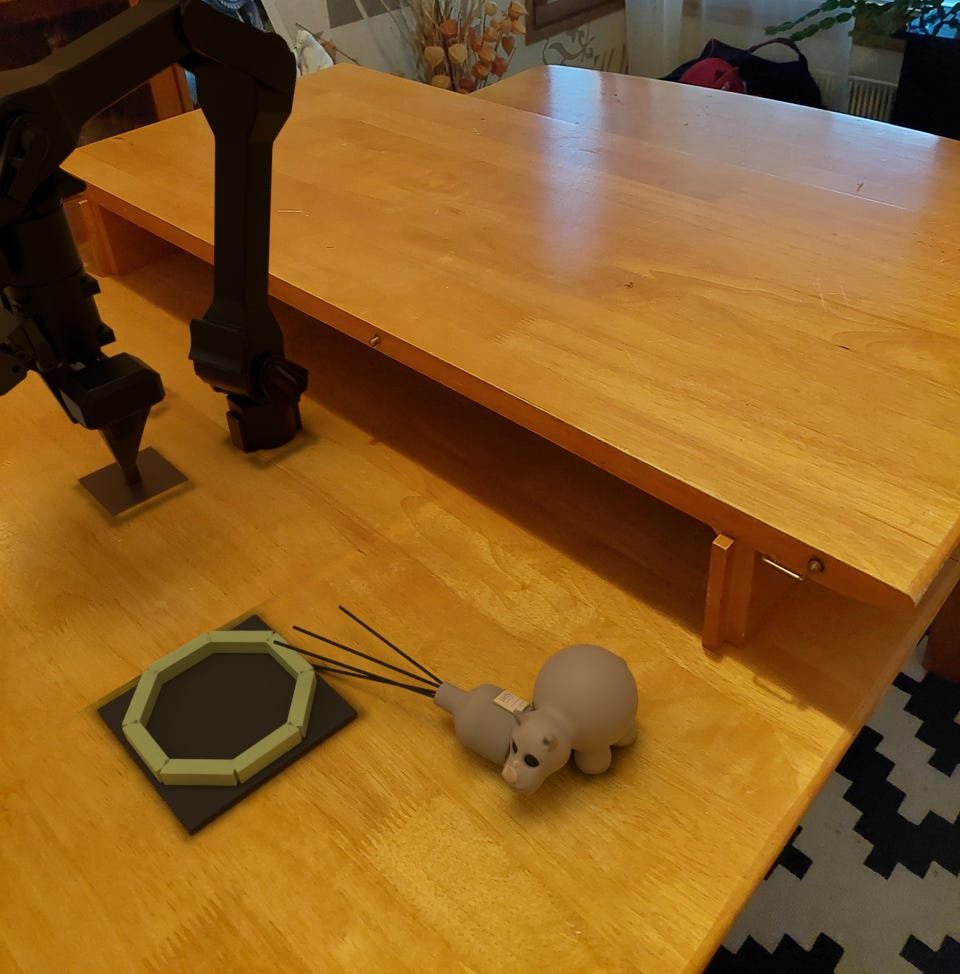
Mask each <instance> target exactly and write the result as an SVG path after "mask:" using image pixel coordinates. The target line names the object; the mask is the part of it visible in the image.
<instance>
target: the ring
mask: <svg viewBox="0 0 960 974" xmlns="http://www.w3.org/2000/svg"><path fill="white" fill-rule="evenodd" d="M273 631H274V630H273ZM273 631H228V630H210V631H209V633H207V632H206V631H204V632H202V633H201V634H199V635H198V636H196V637H195V638H193V639H191V640H189V641H187V642H186V643H184V644H182V645H181V646H179V647H177V648H176V649H174V650H172V651H171V652H169V653H167V654H166V655H164V656H162V657H161V658H159V659H156V660H155V661H154V662H152V663H150V664H148V665H147V669H144V670H143V671H142V674H141V676H140V678H139V681H138V684H137V685H138V686H137V685H136V686H137V688H136V691H135V693H134V696H133V698H132V701H131V703H130V706H129V708H128V711H127V713H126V715H125V718H124V720H123V723H122V726H123V728H122V729H123V731H124V734H125V736H126V738H127V740H128V741H129V743H130V744H131V745H132V747H133V748H134V749H135V751H136V752H137V753H138V755H139V756H140V757H141V758H142V760H143V761H144V762H145V764H146V765H147V766H148V768H149V769H150V770H151V771H152V773H153V774H154V775H155V777H156V778H157V779H158V781H159V782H160V783H162V782H164V784H165V785H213V786H237V783H238V780H239V781H240V783H244V782H245V781H247V780H248V779H249V778H251V777H252V776H254V775H255V774H257V773H258V772H259V771H261V770H262V769H264V768H265V767H266V766H268V765H269V764H271V763H272V762H274V761H275V760H276V759H278V758H279V757H281V756H282V755H283V754H285V753H286V752H288V751H289V750H291V749H292V748H293V747H295V746H296V745H298V744H299V743H300V742H302V739H301V737H305V735H306V731H307V726H308V722H309V717H310V712H311V708H312V703H313V699H314V694H315V689H316V685H317V680H316V676H315V672H316V671H315V668H313V667H312V666H311V665H310V664H311V663H310V662H308V661H307V660H306V659H305V658H304V657H303V656H302V655H301V653H300V652H297V651H294V650H291V649H288V648H285V647H282V646H279V645H276V644H273V642H274V640H276V641H279V642H282V643H285V644H288V645H290V644H289V643H288V642H287V641H286V640H285V638H283V637H282V636H281V635H280V634H279V633H278V632H275V634H273ZM213 653H269V654H270V655H271V656H272V657H273V658H274V659H275V660H276V661H277V662H278V663H279V664H280V665H281V666H282V667H283V668H284V669H285V670H286V671H287V672H289V673H290V674H291V675H292V676H293V677H294V678H295V679H296V680H297V682H296V686H295V691H294V695H293V699H292V703H291V707H290V712H289V716H288V720H287V723H286V724H284V725H283V726H281V727H280V728H278V729H277V730H275V731H274V732H272V733H271V734H270V735H268V736H267V737H265V738H264V739H262V740H261V741H259V742H258V743H256V744H255V745H254V746H252V747H251V748H249V749H248V750H246V751H245V752H243V753H242V754H240V755H239V756H238V757H236V758H235V759H233V760H215V759H169V758H168V757H167V755H166V754H165V753H164V752H163V750H162V749H161V748H160V747H159V745H158V744H157V743H156V742H155V740H154V739H153V738H152V737H151V735H150V734H149V733H148V732H147V730H146V726H147V723H148V721H149V718H150V715H151V713H152V710H153V708H154V705H155V702H156V700H157V697H158V694H159V692H160V689H161V687H162V684H164V683H166V682H167V681H169V680H170V679H172V678H174V677H175V676H177V675H179V674H180V673H182V672H184V671H185V670H187V669H189V668H190V667H192V666H193V665H195V664H197V663H198V662H200V661H202V660H203V659H205V658H207V657H208V656H210V655H211V654H213ZM309 663H310V664H309Z"/></svg>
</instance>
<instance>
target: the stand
mask: <svg viewBox="0 0 960 974" xmlns="http://www.w3.org/2000/svg"><path fill="white" fill-rule="evenodd" d="M76 480H77V482H78V483H79V484H81V486H82V487H83V488H84V489H85V490H86V491H87V492H88V493H89V494H90V495H91V496H92V498H94V499H95V500H96V501H97V502H98V503H99V504H100V505H101V506H102V507H103V508H104V509H105V510H106V511H107V512H108V513H109V514H110V516H112V517H116V516H118V515H120V514H122V513H125V512H126V511H128V510H130V509H132V508H134V507H136V506H138V505H140V504H142V503H144V502H146V501H148V500H150V499H152V498H154V497H156V496H158V495H161V494H162V493H165V492H166V491H168V490H170V489H173V488H174V487H177V486H179V485H181V484H183V483H185V482H187V481H189V478H188V477H187V476H186V475H184V473H182V472H181V471H180V470H179V469H178V468H177V467H175V466H174V465H173V463H171V462H170V461H168V460H167V458H166V457H164V456H163V455H161V453H160V452H159V451H158V450H156V449H155V448H153V446H151V445H149V446H147V447H145V448H143V449H140V450H139V451H138V455H137V459H136V463H135V465H134V466H132V467H130V468H128V469H126V470H122V469H121V468H120V467H119V465H118V463H117V462H116V461H114V462H112V463H110V464H108V465H106V466H103V467H101V468H99V469H97V470H95V471H93V472H90V473H88V474H86V475H84V476H82V477H79V478H78V479H76Z"/></svg>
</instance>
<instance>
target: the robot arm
mask: <svg viewBox="0 0 960 974" xmlns="http://www.w3.org/2000/svg"><path fill="white" fill-rule="evenodd" d="M297 63H298V62H297V58H296V55H295V52H294V51H292V50H291V48H290V46H289V44H288V42H287V40H286V39H284V37H283V36H282V35H281V34H279V33H277V32H274V31H268V30H262V29H260V28H258V27H256V26H253V25H251V24H248V23H246V22H245V21H242V20H240V19H238V18H235V17H233V16H231V15H229V14H227V13H225V12H222V11H220V10H219V9H217V8H215V7H214V6H213V5H211V4H210V3H209V2H207V1H205V0H138V1H137V2H136V4H135V5H133V6H131V7H129V8H128V9H126V10H124V11H122V12H120V13H119V14H117V15H116V16H114V17H112V18H111V19H108V20H107V21H106V22H104V23H102V24H100V25H98V26H97V27H95V28H93V29H92V30H90V31H89V32H87V33H85V34H84V35H82V36H80V37H78V38H77V39H75V40H73V41H72V42H70V43H68V44H67V45H65V46H62V47H61V48H60V49H58V50H56V51H55V52H53V53H51V54H49V55H48V56H46V57H45V58H42V59H41V60H39V61H38V62H36V63H33V64H30V65H27V66H24V67H19V68H14V69H8V70H1V71H0V398H1V397H4V396H6V395H7V394H8V393H9V392H10V391H12V390H13V389H14V388H15V387H17V386H18V385H19V384H20V383H22V382H23V381H24V380H26V379H27V377H28V372H29V371H32V372H35V373H36V374H37V375H38V376H39V378H40V379H41V381H42V382H43V384H44V385H45V386H46V388H47V389H48V390H49V392H50V394H51V395H52V396H53V397H54V399H55V400H56V402H57V403H58V405H59V406H60V408H61V409H62V410H63V412H64V413H65V415H66V417H68V419H69V420H70V422H71V423H72V424H73V425H77V424H79V425H80V426H82V428H84V429H85V430H88V431H98V433H99V435H100V437H101V438H102V440H103V442H104V443H105V445H106V447H107V449H108V451H109V452H110V453H111V455H112V457H113V459H114V460H115V462H117V463H118V465H119V467H120V468H121V469H122V470H126V469H128V468H130V467H132V466H134V465H135V463H136V459H137V455H138V451H140V447H141V446H140V445H141V443H142V439H143V436H144V435H143V434H144V431H145V427H146V424H147V421H148V418H149V415H150V412H151V410H152V407H154V406H156V405H157V404H158V403H160V402H161V403H162V402H163V401H164V399H165V397H166V395H167V394H166V391H165V387H164V384H163V380H162V377H161V374H160V373H159V372H158V371H157V370H155V368H153V367H151V366H150V365H149V364H147V363H146V362H145V361H144V360H142V359H141V358H140V357H138V356H135V355H133V354H131V353H128V352H126V351H123V352H120V353H118V354H114V355H113V356H109V355H108V354H106V353H105V352H103V350H102V349H101V348H102V347H105V346H107V345H111V344H113V343H116V342H117V338H116V335H115V332H114V329H113V328H112V327H110V326H109V325H108V324H106V323H105V322H104V321H102V317H101V315H100V312H99V309H98V305H97V302H96V299H95V295H99V294H102V290H101V287H100V284H99V280H98V279H97V278H95V277H94V276H92V275H91V274H89V273H88V272H87V271H86V267H85V266H84V265H85V264H84V262H83V259H82V255H81V253H80V250H79V246H78V243H77V240H76V237H75V234H74V231H73V228H72V225H71V221H70V219H69V215H68V211H67V208H66V205H65V203H64V201H66V200H67V199H70V198H72V197H75V196H77V195H78V194H81V193H84V192H85V191H86V190H87V188H88V185H87V184H88V183H86V181H85V180H83V179H81V178H79V177H76V176H74V175H72V174H71V173H68V172H67V171H66V170H64V169H62V167H61V165H62V164H63V163H64V162H65V161H66V160H67V159H68V158H69V157H70V155H72V153H74V152H75V150H76V149H77V146H78V144H79V140H80V137H81V133H82V130H83V129H84V127H86V125H88V123H89V122H90V121H91V120H93V118H95V117H96V116H98V115H100V114H101V113H103V112H104V111H106V110H107V109H109V108H110V107H111V106H113V105H115V104H116V103H117V102H119V101H120V100H122V99H124V98H125V97H127V96H128V95H129V94H131V93H132V92H134V91H135V90H137V89H138V88H140V87H142V86H143V85H144V84H146V83H148V82H149V81H151V80H152V79H154V78H155V77H156V76H158V75H159V74H161V73H163V72H164V71H166V70H167V69H168V68H170V67H171V66H173V65H175V66H176V67H179V68H180V69H182V70H184V71H186V72H187V73H189V74H191V75H193V76H194V81H195V82H194V84H195V92H196V99H197V103H198V106H199V108H200V109H201V111H202V114H203V115H204V116H203V117H204V118H205V120H206V122H207V124H208V126H209V128H210V130H211V133H212V134H213V138H214V195H213V197H214V198H213V199H214V203H213V207H214V208H213V209H214V210H213V217H214V218H213V295H212V301H211V303H210V304H209V306H208V307H207V309H206V311H205V312H204V314H203V315H202V317H192V318H191V320H190V323H189V326H188V327H189V328H188V329H189V334H190V349H189V352H188V356H187V359H188V360H189V361H192V364H193V370H194V373H195V376H198V378H199V379H200V380H201V381H202V382H203V383H205V384H207V385H209V387H210V388H211V389H212V391H213V392H215V393H218V394H220V393H221V394H223V395H224V394H225V395H226V398H225V399H226V402H227V406H228V411H226V412H225V417H226V422H227V425H228V428H229V429H228V430H229V434H230V438H231V441H232V445H234V446H235V447H236V448H237V449H239V450H240V451H241V452H243V453H244V454H250V453H255V452H258V451H260V450H262V451H263V450H264V451H265V450H266V451H267V450H273V449H278V448H280V447H283V446H285V445H288V444H289V443H290V442H291V441H292V440H294V439H295V437H296V436H297V433H298V432H299V431H300V430H302V429H303V428H304V427H303V426H304V425H303V421H302V417H301V410H300V405H299V403H300V402H301V401H302V399H301V397H302V394H304V393H305V392H306V391H307V390H308V386H309V385H308V384H309V369H308V368H306V367H304V366H302V365H300V364H298V363H295V362H294V361H291V360H290V359H288V358H286V354H285V343H284V341H285V339H284V332H283V330H282V328H281V326H280V325H279V323H278V321H277V319H276V316H275V314H274V313H273V311H272V309H271V307H270V304H269V279H270V277H269V274H270V246H271V245H270V243H271V216H272V215H271V213H272V211H271V210H272V179H273V149H274V142H275V141H276V139H277V138H278V136H279V135H280V133H281V131H282V129H283V127H284V126H285V125H286V123H287V121H288V120H289V118H290V117H291V114H292V111H293V104H294V99H295V98H294V97H295V91H296V86H297V85H296V84H297V75H298V67H297V65H298V64H297Z"/></svg>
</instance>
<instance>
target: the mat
mask: <svg viewBox="0 0 960 974" xmlns="http://www.w3.org/2000/svg"><path fill="white" fill-rule="evenodd" d="M227 631H273V634H275V633H276V632H275V631H274V630H273V629H272V628H271V627H270V626H269V625H268V624H267V623H266V622H264V621H263V619H262V618H261V617H260V616H258V614H256V613H255V614H253V615H251V616H250V617H249V618H246V619H245V620H243V621H242V622H241V623H238V624H237V625H235V626H233V627H231V628H230V629H228V630H227ZM315 676H316V680H317V685H316V689H315V694H314V699H313V703H312V708H311V712H310V717H309V722H308V726H307V731H306V735H305V737H301V739H302V742H300V743H299V744H298V745H296V746H295V747H293V748H292V749H291V750H289V751H288V752H286V753H285V754H283V755H282V756H281V757H279V758H278V759H276V760H275V761H274V762H272V763H271V764H269V765H268V766H266V767H265V768H264V769H262V770H261V771H259V772H258V773H257V774H255V775H254V776H252V777H251V778H249V779H248V780H247V781H245V782H244V783H240V781H239V780H238V783H237V786H213V785H165V784H164V782H162V783H160V782H159V781H158V779H157V778H156V777H155V775H154V774H153V773H152V771H151V770H150V769H149V768H148V766H147V765H146V764H145V762H144V761H143V760H142V758H141V757H140V756H139V755H138V753H137V752H136V751H135V749H134V748H133V747H132V745H131V744H130V743H129V741H128V740H127V738H126V736H125V734H124V731H123V729H122V728H123V726H122V723H123V720H124V718H125V715H126V713H127V711H128V708H129V706H130V703H131V701H132V698H133V696H134V693H135V691H136V688H137V686H138V684H136V685H135V686H133V687H132V688H130V689H128V690H126V691H125V692H123V693H122V694H120V695H118V696H117V697H115V698H113V699H112V700H110V701H108V702H106V703H105V704H103V705H102V706H100V707H98V708H97V712H98V714H99V715H100V717H101V719H103V721H104V723H105V724H106V725H107V727H108V728H109V729H110V731H111V732H112V733H113V735H114V736H115V737H116V739H117V740H118V741H119V742H120V744H121V745H122V746H123V748H124V749H125V750H126V752H127V753H128V754H129V756H130V757H131V758H132V760H133V761H134V762H135V764H136V765H137V767H138V768H139V769H140V770H141V772H142V773H143V774H144V776H145V777H146V778H147V780H148V781H149V782H150V784H151V785H152V786H153V788H154V789H155V790H156V791H157V793H158V795H160V796H161V798H162V799H163V800H164V802H165V803H166V804H167V806H168V807H169V809H170V810H171V811H172V813H173V814H174V815H175V817H176V818H177V819H178V821H179V822H180V823H181V824H182V826H183V827H184V828H185V830H186V832H188V834H189V835H190V836H192V835H194V834H195V833H196V832H198V831H199V830H200V829H202V828H204V827H205V826H206V825H208V824H209V823H211V822H212V821H214V820H215V819H216V818H218V817H219V816H220V815H222V814H223V813H225V812H226V811H228V810H229V809H230V808H231V807H233V806H234V805H236V804H237V803H239V802H240V801H241V800H243V799H244V798H245V797H247V796H248V795H250V794H251V793H252V792H254V791H255V790H257V789H259V787H261V786H262V785H264V784H265V783H267V782H268V781H270V779H273V778H274V777H275V776H276V775H278V774H279V773H281V772H283V770H285V769H286V768H287V767H289V766H290V765H292V764H293V763H295V762H296V761H297V760H299V759H300V758H301V757H303V756H305V755H306V754H307V753H309V752H310V751H312V750H313V749H315V748H316V747H317V746H319V745H320V744H322V742H324V741H325V740H327V739H328V738H329V737H330V736H332V735H334V734H335V733H337V732H338V731H339V730H341V729H342V728H344V727H345V726H346V725H348V724H349V723H350V722H352V721H353V720H355V719H356V718H357V717H358V716H359V715H358V711H357V710H356V709H355V708H354V707H353V706H352V705H351V704H350V703H349V702H348V701H347V700H345V698H343V696H341V695H340V694H339V692H337V691H336V690H335V689H334V688H333V687H332V686H331V685H330V684H329V683H328V682H327V681H326V680H325V679H324V678H323V677H321V675H319V673H317V671H315ZM296 682H297V680H296V679H295V678H294V677H293V676H292V675H291V674H290V673H289V672H287V671H286V670H285V669H284V668H283V667H282V666H281V665H280V664H279V663H278V662H277V661H276V660H275V659H274V658H273V657H272V656H271V655H270V654H269V653H213V654H211V655H210V656H208V657H207V658H205V659H203V660H202V661H200V662H198V663H197V664H195V665H193V666H192V667H190V668H189V669H187V670H185V671H184V672H182V673H180V674H179V675H177V676H175V677H174V678H172V679H170V680H169V681H167V682H166V683H164V684H162V687H161V689H160V692H159V694H158V697H157V700H156V702H155V705H154V708H153V710H152V713H151V715H150V718H149V721H148V723H147V726H146V730H147V732H148V733H149V734H150V735H151V737H152V738H153V739H154V740H155V742H156V743H157V744H158V745H159V747H160V748H161V749H162V750H163V752H164V753H165V754H166V755H167V757H168V758H169V759H215V760H233V759H235V758H236V757H238V756H239V755H240V754H242V753H243V752H245V751H246V750H248V749H249V748H251V747H252V746H254V745H255V744H256V743H258V742H259V741H261V740H262V739H264V738H265V737H267V736H268V735H270V734H271V733H272V732H274V731H275V730H277V729H278V728H280V727H281V726H283V725H284V724H286V723H287V720H288V716H289V712H290V707H291V703H292V699H293V695H294V691H295V686H296Z"/></svg>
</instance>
